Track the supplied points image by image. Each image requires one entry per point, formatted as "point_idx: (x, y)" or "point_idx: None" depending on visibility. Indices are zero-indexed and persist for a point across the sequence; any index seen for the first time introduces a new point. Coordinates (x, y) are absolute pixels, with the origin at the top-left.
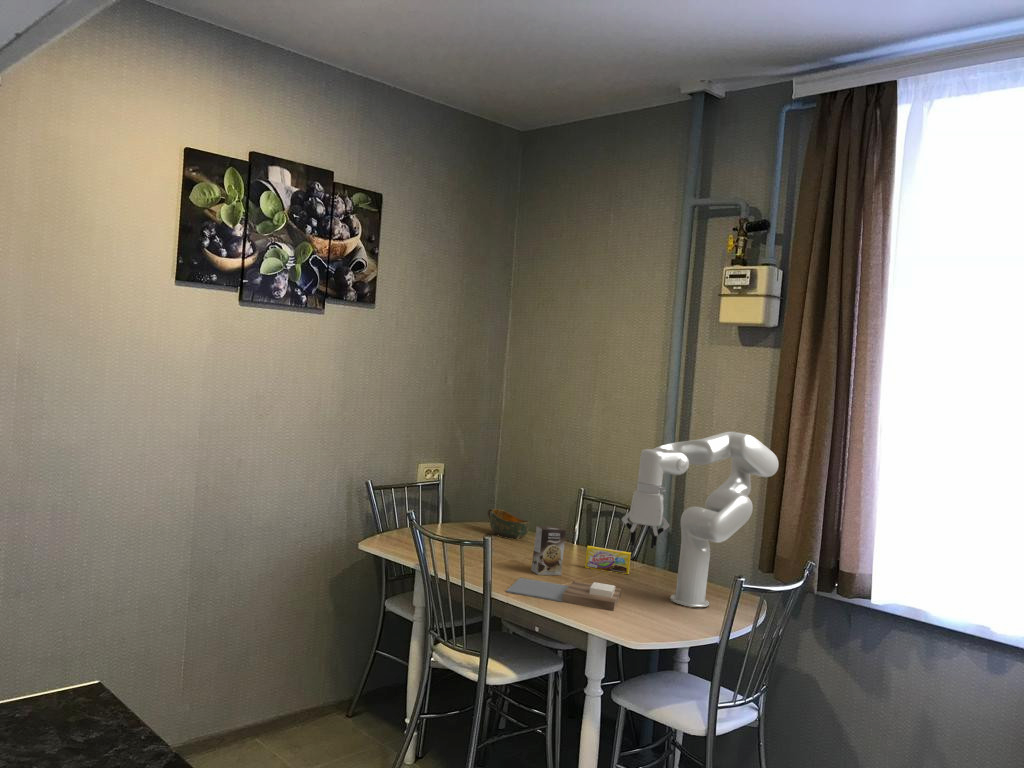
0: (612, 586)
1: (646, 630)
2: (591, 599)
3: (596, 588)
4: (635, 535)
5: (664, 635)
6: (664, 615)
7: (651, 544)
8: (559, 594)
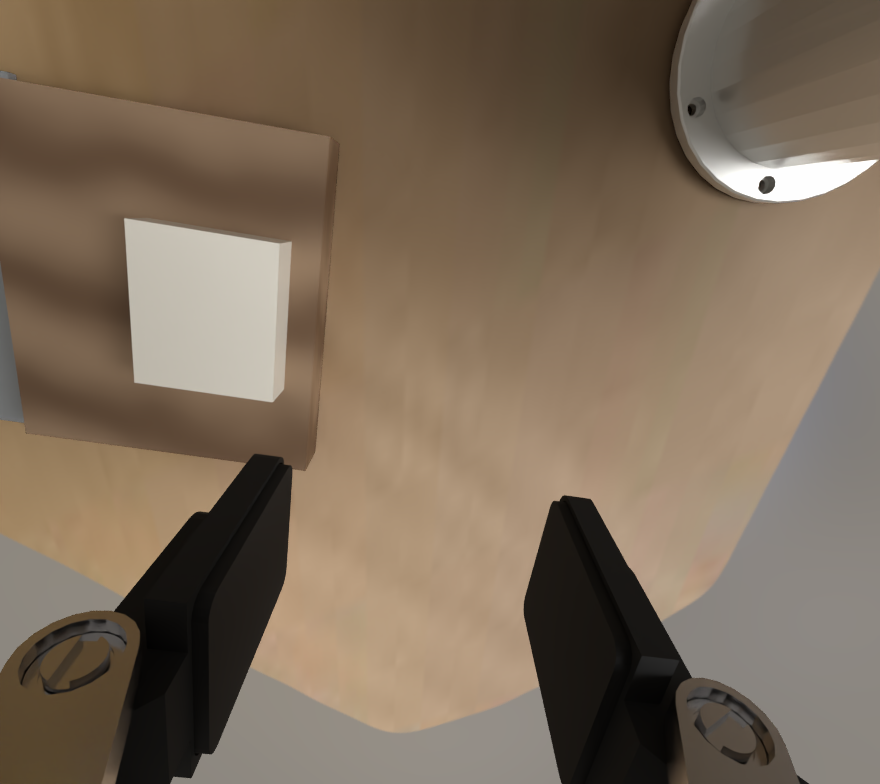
0: (262, 276)
1: (451, 636)
2: (186, 452)
3: (173, 380)
4: (236, 623)
5: (513, 660)
6: (562, 415)
7: (535, 649)
8: (2, 320)
